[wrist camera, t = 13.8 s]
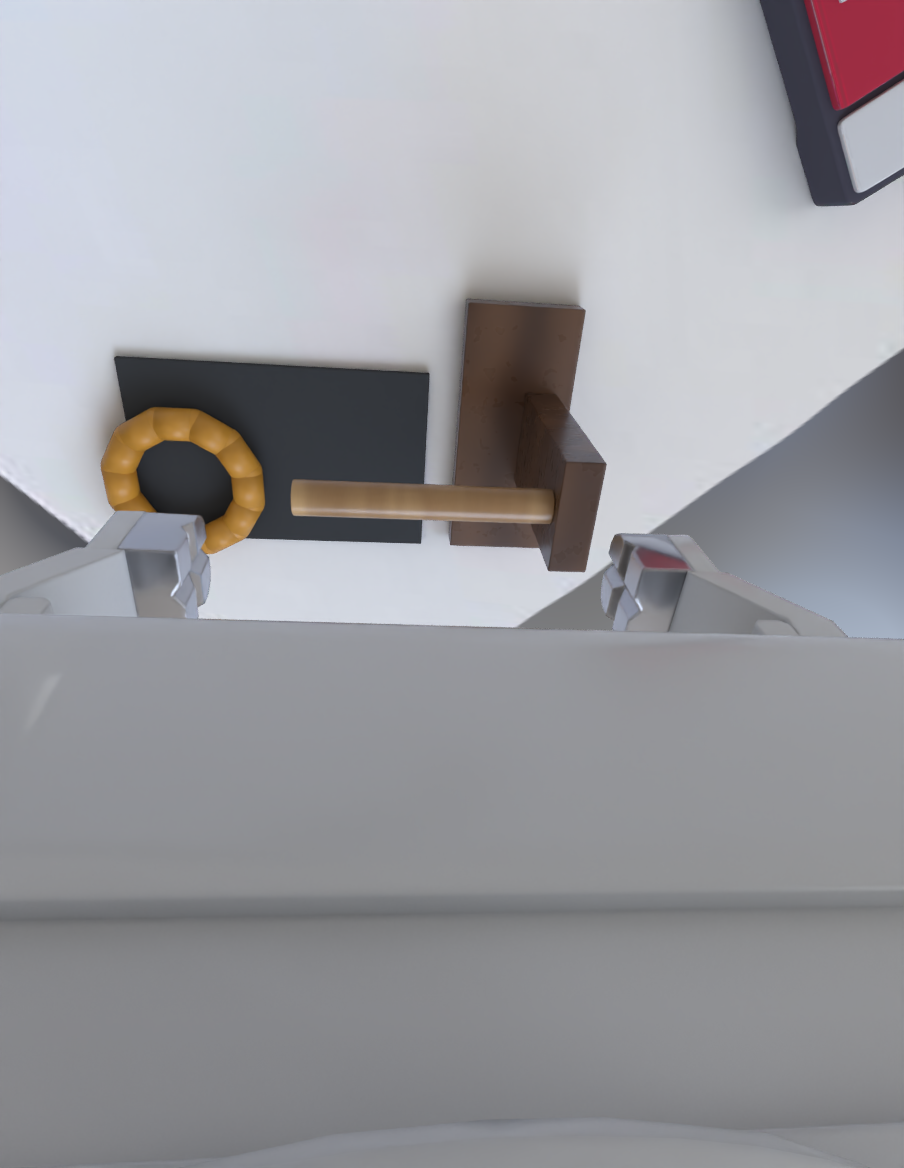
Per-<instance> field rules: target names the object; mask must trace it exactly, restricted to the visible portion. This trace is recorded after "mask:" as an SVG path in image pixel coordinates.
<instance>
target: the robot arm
mask: <svg viewBox="0 0 904 1168" xmlns="http://www.w3.org/2000/svg"><path fill="white" fill-rule="evenodd" d="M206 538H207V536H206V529H205V522H204V520H203V518H202V516H201V515H189V514H173V513H156V512H146V511H116V512H115V513H114V514H113V515H112V517H111V518H110V519H109V520H108V521H107V523H106V524H105V525H104V526H103V527H102V528H101V530H100V531H99V532H98V533H97V534H96V535H95V537H94V538H93V539H92V540H91V541H90V542H89V544H88V545H87V546H86V547H85V548H74V549H71V550H68V551H66V552H63V553H60V554H57V555H55V556H52V557H49V558H47V559H44V560H41V561H38V562H35V563H33V564H30V565H27V566H24V567H22V568H19V569H16V570H14V571H11V572H8V573H5V574H2V575H0V1168H904V639H889V638H856V637H848V636H847V635H846V634H845V633H844V632H843V631H842V630H841V629H840V628H839V627H838V626H837V625H836V624H835V623H834V622H833V621H832V620H829V619H827V618H825V617H823V616H821V615H818V614H816V613H814V612H812V611H810V610H808V609H805V608H803V607H801V606H799V605H797V604H794V603H792V602H790V601H788V600H786V599H784V598H781V597H779V596H777V595H775V594H773V593H771V592H768V591H766V590H764V589H762V588H760V587H757V586H755V585H753V584H751V583H748V582H747V581H744V580H742V579H740V578H738V577H736V576H734V575H731V574H729V573H724V572H719V570H718V569H717V568H716V567H715V565H714V564H713V563H712V562H711V561H710V559H709V558H708V557H707V556H706V555H705V553H704V552H703V551H702V550H701V548H700V547H699V546H698V545H697V544H696V543H695V541H694V540H693V539H692V537H691V536H687V535H666V534H626V533H620V534H616V535H615V536H614V538H613V540H612V542H611V546H610V550H609V555H610V557H611V559H612V561H613V564H612V565H611V566H610V567H609V568H608V569H607V570H606V571H605V572H604V576H603V581H602V586H601V601H602V607H603V610H604V612H605V614H606V616H607V617H609V618H611V619H612V620H614V623H613V628H612V629H613V631H610V630H575V629H541V628H539V629H538V628H506V627H471V626H436V625H401V624H366V623H332V622H297V621H262V620H227V619H198V617H199V615H198V607H199V606H201V605H203V604H204V603H205V601H206V599H207V597H208V594H209V587H210V581H211V571H210V560H209V557H208V556H207V555H206V553H205V552H204V551H203V550H202V549H201V547H202V545H203V543H204V542H205V540H206Z"/></svg>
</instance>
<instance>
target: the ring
mask: <svg viewBox="0 0 904 1168" xmlns="http://www.w3.org/2000/svg"><path fill="white" fill-rule="evenodd" d="M164 440H167V441H190V442H192V443H194V444H196V445H198V446H200V447H201V448H203V449H205V450H207V451H209V452H211V453H213V454H214V455H216V457H217V458H218V459H219V461H220V462H221V463H222V465H223V466H224V468H225V469H226V470H227V472H228V473H229V474H230V476H231V482H232V491H233V500H232V502H231V503H230V505H229V507H228V509H227V511H226V513H225V515H224V516H222V517H220V518H218V519H216V520H214V521H212V522H210V523H208V524H206V525H205V529H206V536H207V538H206V540H205V542H204V543H203V545H202V547H201V549H202V550H203V551H204V552H205V553H206V554H214V553H217V552H219V551H221V550H223V549H225V548H227V547H229V546H231V545H233V544H235V543H237V542H239V541H241V540H243V539H245V538H246V537H247V536H248V535H249V533H250V532H251V530H252V528H253V526H254V525H255V523H256V521H257V519H258V518H259V516H260V514H261V512H262V511H263V509H264V506H265V494H264V482H263V471H262V467H261V464H260V463H259V461H258V460H257V458H256V457H255V456H254V454H253V453H252V451H251V450H250V448H249V447H248V445H247V444H246V443H245V441H244V440H243V438H242V437H241V435H240V434H239V433H238V432H237V431H236V430H234V429H233V428H231V427H229V426H227V425H226V424H224V423H222V422H220V421H218V420H217V419H215V418H213V417H211V416H210V415H208V414H206V413H204V412H202V411H200V410H198V409H189V408H167V407H153V408H150V409H148V410H146V411H144V412H142V413H140V414H139V415H137V416H135V417H133V418H131V419H130V420H128V421H126V422H124V423H122V424H121V425H119V426H118V427H117V428H116V429H115V430H114V432H113V435H112V437H111V439H110V442H109V444H108V446H107V449H106V451H105V453H104V456H103V458H102V460H101V471H102V475H103V480H104V485H105V489H106V494H107V498H108V502H109V504H110V505H111V507H112V508H113V509H114V510H115V511H146V512H156V513H158V512H157V511H156V510H155V509H154V508H153V507H152V505H151V504H150V503H149V502H148V500H147V499H146V498H145V497H144V496H143V494H142V493H141V492H140V487H139V481H138V476H137V471H136V469H137V467H138V465H139V462H140V460H141V458H142V456H143V454H144V452H145V451H146V450H147V449H149V448H151V447H153V446H155V445H157V444H158V443H160V442H162V441H164Z"/></svg>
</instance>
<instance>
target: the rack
mask: <svg viewBox="0 0 904 1168" xmlns="http://www.w3.org/2000/svg"><path fill="white" fill-rule="evenodd" d="M584 318H585V310H584V309H583V308H582V307H580V306H573V305H557V304H542V303H526V302H511V301H495V300H480V299H467V300H466V310H465V324H464V337H463V351H462V364H461V378H460V391H459V405H458V418H457V432H456V445H455V459H454V472H453V485H435V484H409V483H383V482H357V481H331V480H305V479H293V481H292V485H291V511H292V514H293V515H294V516H320V517H350V518H379V519H409V520H439V521H450V526H449V541H450V545H456V546H489V547H522V548H540V550H541V553H542V556H543V558H544V561H545V564H546V566H547V569H548V571H561V572H585V570H586V565H587V560H588V555H589V550H590V545H591V540H592V535H593V530H594V525H595V520H596V515H597V510H598V505H599V500H600V495H601V490H602V485H603V480H604V475H605V470H606V462H605V461H604V460H603V458H602V457H601V455H600V454H599V453H598V451H597V450H596V449H595V447H594V446H593V444H592V443H591V442H590V440H589V439H588V437H587V436H586V435H585V433H584V432H583V430H582V429H581V428H580V426H579V425H578V424H577V422H576V421H575V419H574V418H573V417H572V415H571V414H570V412H569V411H570V404H571V398H572V392H573V386H574V380H575V373H576V367H577V361H578V355H579V349H580V342H581V336H582V330H583V324H584Z"/></svg>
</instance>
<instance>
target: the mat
mask: <svg viewBox="0 0 904 1168" xmlns="http://www.w3.org/2000/svg"><path fill="white" fill-rule="evenodd" d="M114 360H115V365H116V370H117V376H118V381H119V386H120V392H121V397H122V402H123V408H124V413H125V418H126V421H128V420H130V419H131V418H133V417H135V416H137V415H139V414H140V413H142V412H144V411H146V410H148V409H150V408H153V407H167V408H189V409H198V410H200V411H202V412H204V413H206V414H208V415H210V416H211V417H213V418H215V419H217V420H218V421H220V422H222V423H224V424H226V425H227V426H229V427H231V428H233V429H234V430H236V431H237V432H238V433H239V434H240V435H241V437H242V438H243V440H244V441H245V443H246V444H247V445H248V447H249V448H250V450H251V451H252V453H253V454H254V456H255V457H256V458H257V460H258V461H259V463H260V464H261V467H262V471H263V482H264V494H265V506H264V509H263V511H262V512H261V514H260V516H259V518H258V519H257V521H256V523H255V525H254V526H253V528H252V530H251V532H250V533H249V535H248V536H247V537H246V538H252V539H285V540H318V541H351V542H384V543H417V544H421V532H422V520H409V519H379V518H350V517H320V516H294V515H293V514H292V511H291V485H292V481H293V479H305V480H331V481H357V482H383V483H409V484H424V472H425V452H426V432H427V412H428V392H429V373H418V372H399V371H380V370H362V369H343V368H325V367H306V366H287V365H269V364H250V363H232V362H213V361H195V360H176V359H157V358H139V357H120V356H116V357H115V358H114ZM136 471H137V476H138V481H139V487H140V492H141V493H142V494H143V496H144V497H145V498H146V499H147V500H148V502H149V503H150V504H151V505H152V507H153V508H154V509H155V510H156V511H157V512H158V513H173V514H189V515H201V516H202V518H203V520H204V522H205V525H206V524H208V523H210V522H212V521H214V520H216V519H218V518H220V517H222V516H224V515H225V513H226V511H227V509H228V507H229V505H230V503H231V502H232V500H233V491H232V482H231V476H230V474H229V473H228V472H227V470H226V469H225V468H224V466H223V465H222V463H221V462H220V461H219V459H218V458H217V457H216V455H214V454H213V453H211V452H209V451H207V450H205V449H203V448H201V447H200V446H198V445H196V444H194V443H192V442H190V441H167V440H164V441H162V442H160V443H158V444H157V445H155V446H153V447H151V448H149V449H147V450H146V451H145V452H144V454H143V456H142V458H141V460H140V462H139V465H138V467H137V469H136Z"/></svg>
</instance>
